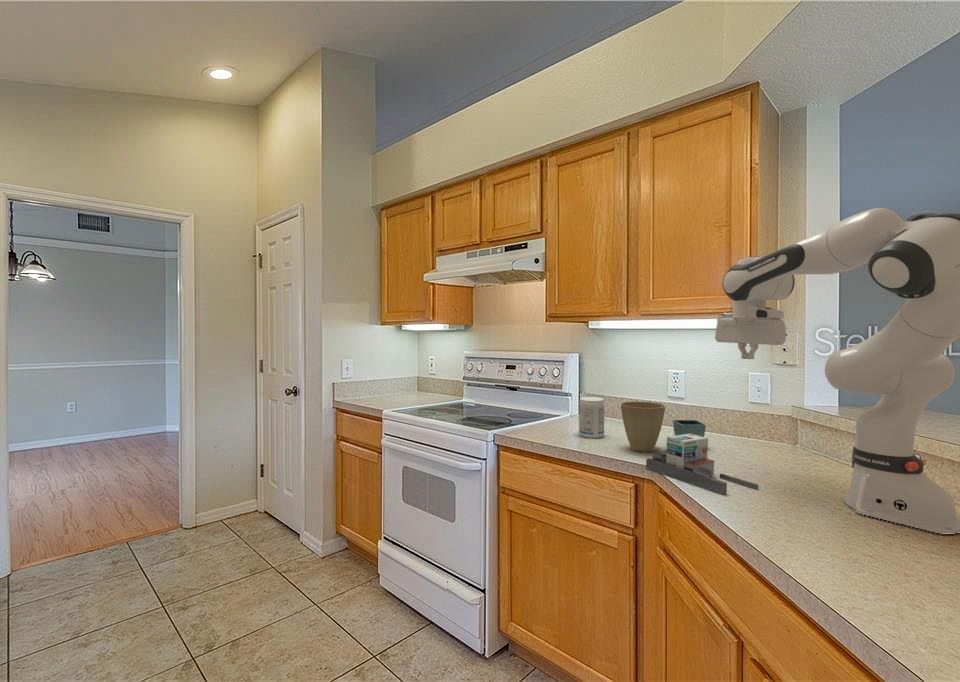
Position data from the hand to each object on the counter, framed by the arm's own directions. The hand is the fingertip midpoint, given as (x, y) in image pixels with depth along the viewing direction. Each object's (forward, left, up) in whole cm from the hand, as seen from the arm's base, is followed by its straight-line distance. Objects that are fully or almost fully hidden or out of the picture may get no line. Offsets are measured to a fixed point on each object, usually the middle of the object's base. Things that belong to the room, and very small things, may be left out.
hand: (747, 358), depth 149 cm
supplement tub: (+57, +10, -34) cm, 67 cm away
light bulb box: (+7, +16, -34) cm, 39 cm away
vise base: (+2, +18, -34) cm, 38 cm away
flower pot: (+28, -10, -34) cm, 45 cm away
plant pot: (+33, +8, -34) cm, 48 cm away
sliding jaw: (+3, +17, -34) cm, 38 cm away
